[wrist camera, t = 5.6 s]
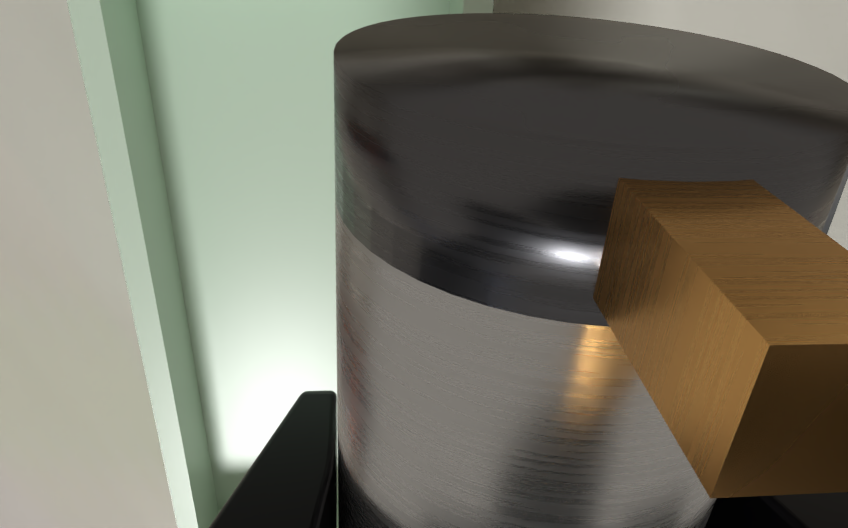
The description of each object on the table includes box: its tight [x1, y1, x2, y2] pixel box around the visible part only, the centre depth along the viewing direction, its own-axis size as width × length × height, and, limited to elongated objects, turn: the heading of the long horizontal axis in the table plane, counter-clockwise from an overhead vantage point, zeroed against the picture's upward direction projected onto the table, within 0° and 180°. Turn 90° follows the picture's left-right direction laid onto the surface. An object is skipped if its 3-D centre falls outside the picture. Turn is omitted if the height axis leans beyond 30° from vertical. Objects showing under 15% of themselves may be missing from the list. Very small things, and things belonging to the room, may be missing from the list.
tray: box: [67, 0, 494, 528], centre depth 18 cm, size 8×18×3 cm, turn 178°
